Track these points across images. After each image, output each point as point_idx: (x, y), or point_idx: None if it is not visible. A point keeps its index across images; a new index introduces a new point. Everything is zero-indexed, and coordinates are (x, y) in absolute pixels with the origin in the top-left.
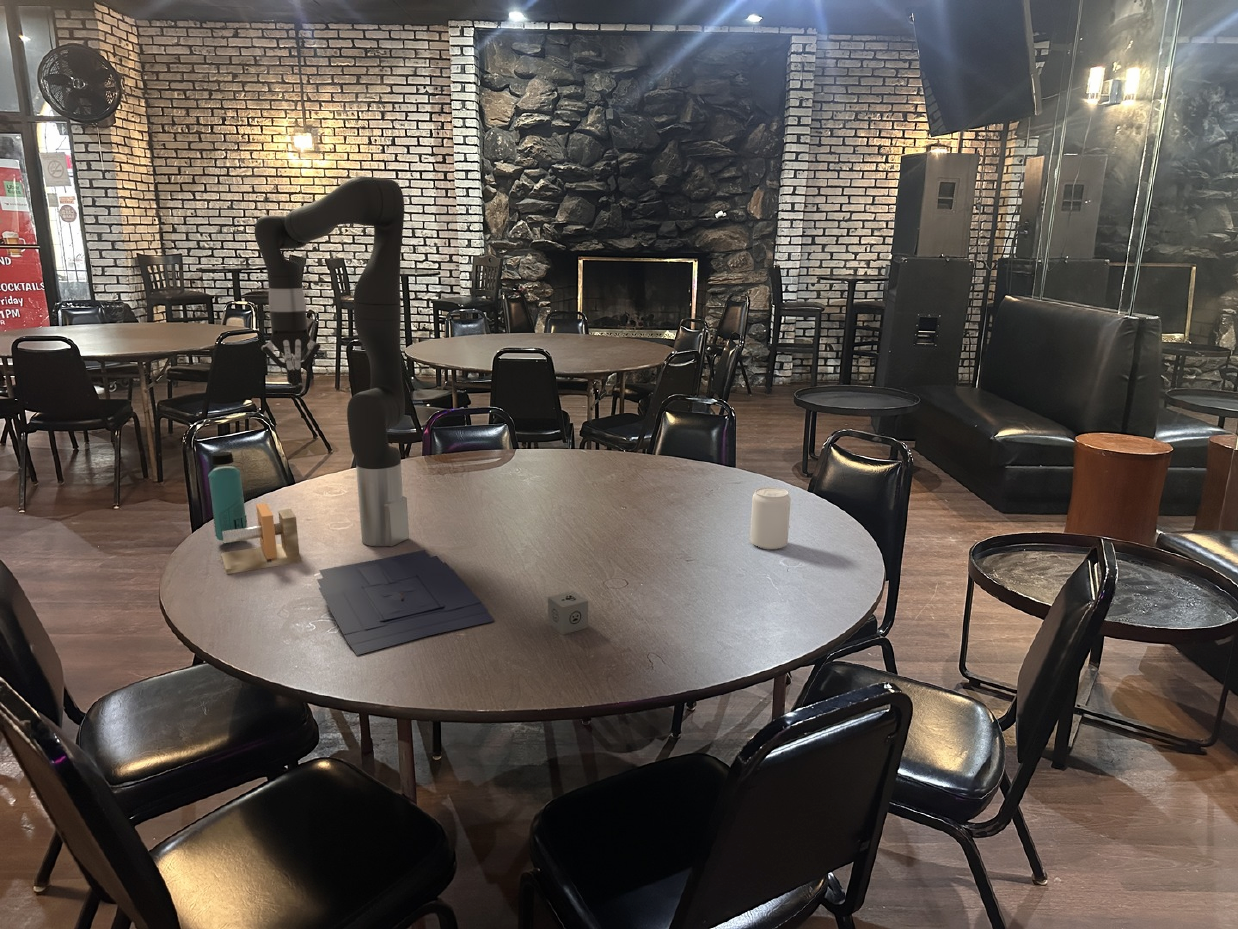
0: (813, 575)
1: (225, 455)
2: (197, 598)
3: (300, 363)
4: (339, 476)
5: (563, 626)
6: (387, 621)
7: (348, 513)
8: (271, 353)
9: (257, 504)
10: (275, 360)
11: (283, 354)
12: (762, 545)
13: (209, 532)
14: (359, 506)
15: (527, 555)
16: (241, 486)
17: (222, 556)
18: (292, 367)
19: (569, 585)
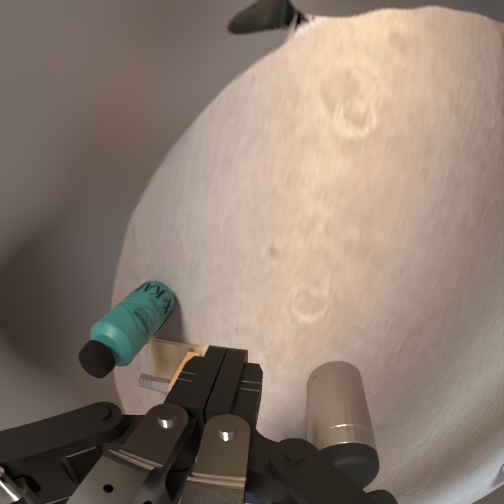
0: (478, 491)
1: (99, 377)
2: (138, 407)
3: (245, 494)
4: (381, 25)
5: None
6: (257, 497)
7: (339, 254)
8: (42, 495)
9: (170, 387)
10: (79, 471)
11: (100, 481)
12: (502, 469)
13: (135, 234)
14: (308, 413)
15: (412, 453)
16: (143, 343)
17: (149, 350)
18: (194, 465)
19: (388, 490)
